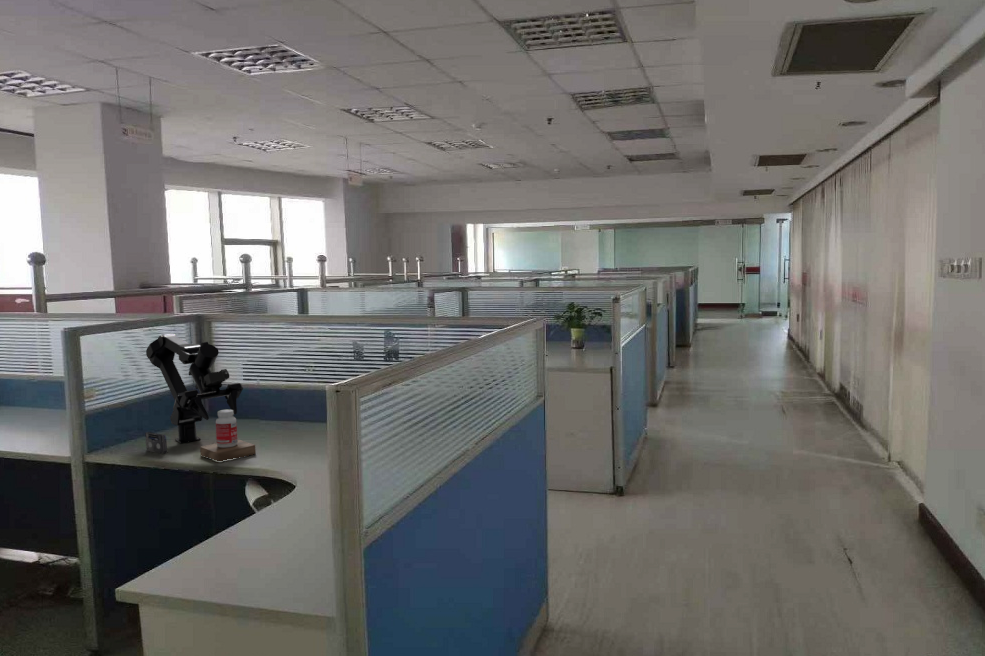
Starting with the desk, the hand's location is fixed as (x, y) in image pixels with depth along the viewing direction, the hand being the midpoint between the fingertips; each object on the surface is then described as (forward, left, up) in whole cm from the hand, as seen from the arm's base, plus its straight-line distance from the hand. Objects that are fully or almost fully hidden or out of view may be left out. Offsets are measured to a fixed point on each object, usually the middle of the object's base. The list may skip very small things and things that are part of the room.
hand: (222, 416), depth 227 cm
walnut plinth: (+2, 0, -12) cm, 12 cm away
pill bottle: (+2, 0, -9) cm, 9 cm away
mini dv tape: (-19, -15, -12) cm, 27 cm away
